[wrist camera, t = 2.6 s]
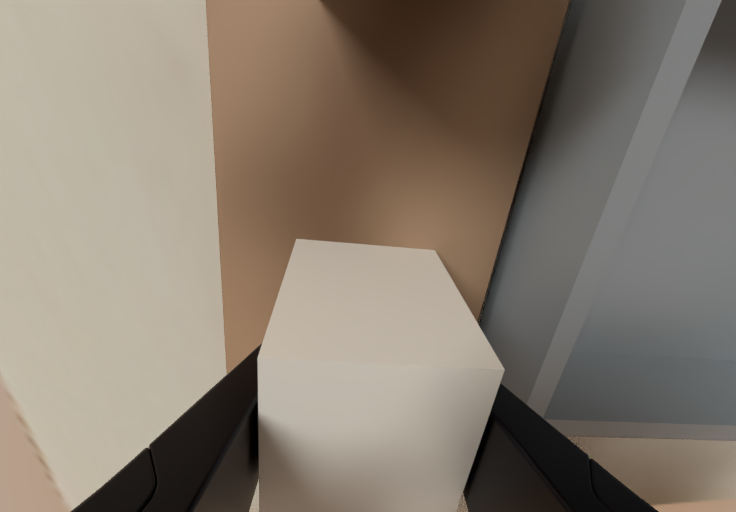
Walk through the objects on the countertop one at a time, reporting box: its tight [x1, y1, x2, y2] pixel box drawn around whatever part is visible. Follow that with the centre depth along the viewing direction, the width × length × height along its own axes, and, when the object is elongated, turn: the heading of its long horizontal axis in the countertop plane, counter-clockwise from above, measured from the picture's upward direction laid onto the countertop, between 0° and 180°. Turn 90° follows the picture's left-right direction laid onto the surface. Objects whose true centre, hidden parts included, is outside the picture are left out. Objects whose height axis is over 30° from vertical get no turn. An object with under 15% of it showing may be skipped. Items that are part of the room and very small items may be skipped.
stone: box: [257, 239, 505, 512], centre depth 9 cm, size 4×4×5 cm
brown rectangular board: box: [206, 0, 569, 374], centre depth 9 cm, size 8×16×1 cm, turn 173°
